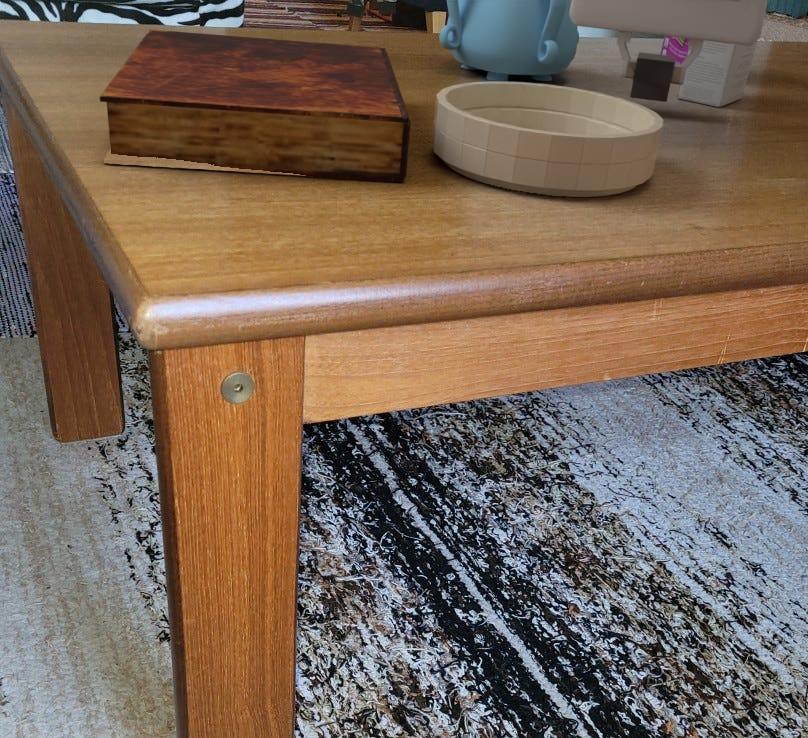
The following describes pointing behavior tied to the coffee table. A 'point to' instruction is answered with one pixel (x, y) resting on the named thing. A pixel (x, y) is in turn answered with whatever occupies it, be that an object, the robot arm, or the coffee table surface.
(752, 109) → the coffee table surface
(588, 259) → the coffee table surface
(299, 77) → the book
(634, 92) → the block
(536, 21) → the decorative pot
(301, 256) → the coffee table surface
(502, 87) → the bowl
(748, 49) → the small box
